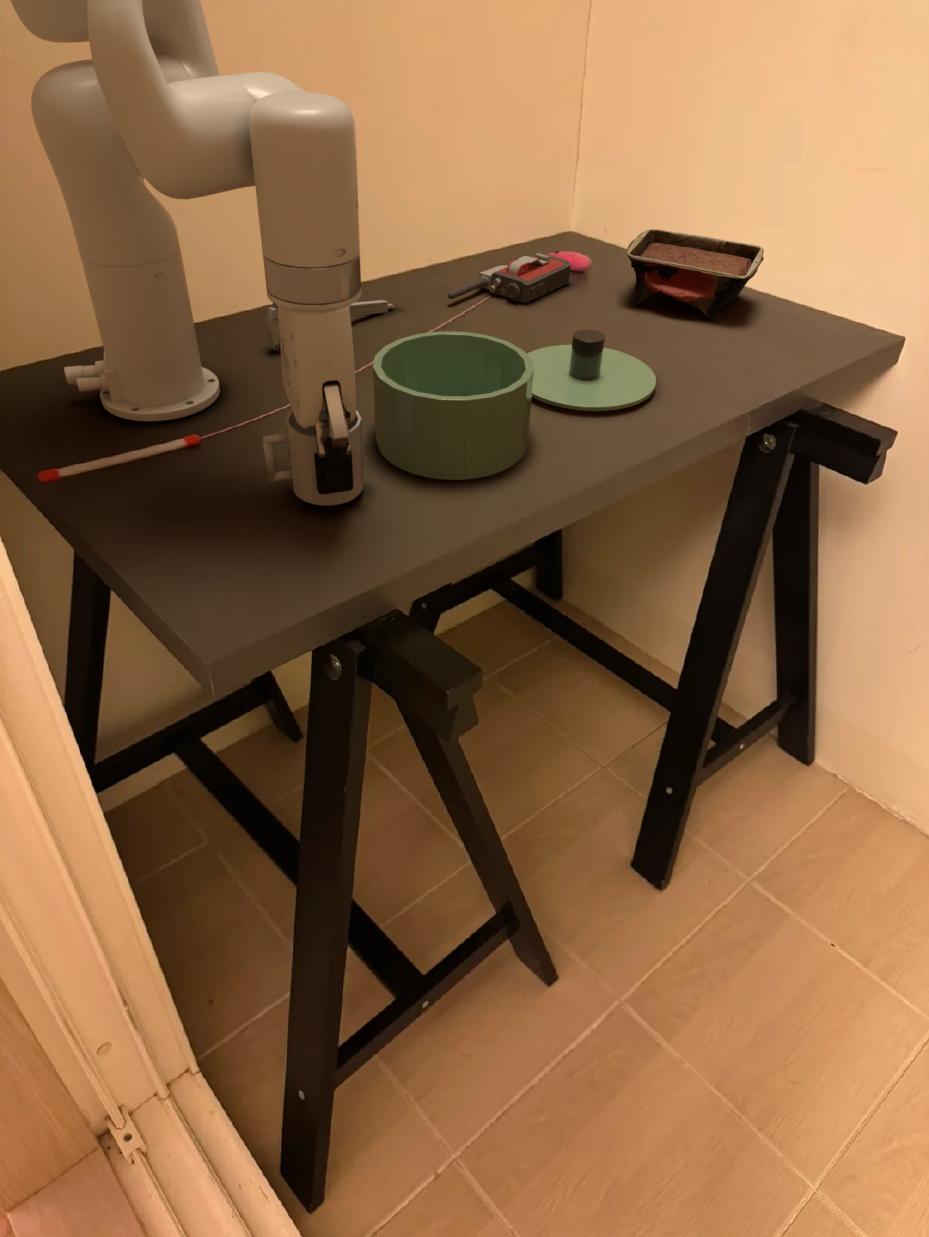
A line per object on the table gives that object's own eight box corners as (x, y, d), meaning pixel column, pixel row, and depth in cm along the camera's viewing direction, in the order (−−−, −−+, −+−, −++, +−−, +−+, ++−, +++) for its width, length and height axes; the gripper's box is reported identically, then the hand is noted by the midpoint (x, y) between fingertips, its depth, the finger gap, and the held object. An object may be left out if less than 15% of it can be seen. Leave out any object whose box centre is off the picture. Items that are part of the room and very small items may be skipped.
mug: (354, 463, 85) (351, 397, 81) (370, 500, 81) (368, 432, 76) (264, 475, 83) (255, 408, 78) (275, 513, 78) (266, 445, 74)
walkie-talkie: (528, 267, 132) (442, 304, 119) (530, 237, 129) (442, 271, 117) (576, 282, 127) (493, 321, 115) (580, 250, 125) (494, 287, 113)
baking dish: (720, 345, 116) (751, 271, 110) (601, 297, 121) (624, 223, 114) (747, 318, 127) (777, 249, 120) (637, 274, 131) (659, 205, 125)
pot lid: (544, 424, 94) (549, 374, 90) (492, 361, 106) (495, 315, 102) (680, 405, 98) (690, 357, 95) (616, 346, 110) (622, 302, 106)
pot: (399, 490, 83) (396, 409, 78) (361, 415, 94) (357, 340, 89) (549, 467, 87) (557, 388, 82) (496, 398, 98) (500, 324, 93)
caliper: (275, 354, 106) (269, 303, 102) (269, 351, 106) (263, 300, 102) (395, 309, 118) (394, 262, 114) (389, 307, 118) (388, 260, 114)
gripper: (250, 242, 74) (271, 429, 86) (284, 323, 62) (303, 528, 74) (336, 236, 76) (346, 420, 88) (386, 314, 64) (389, 515, 76)
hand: (327, 468), depth 81 cm, fingers closed on mug, 6 cm apart
